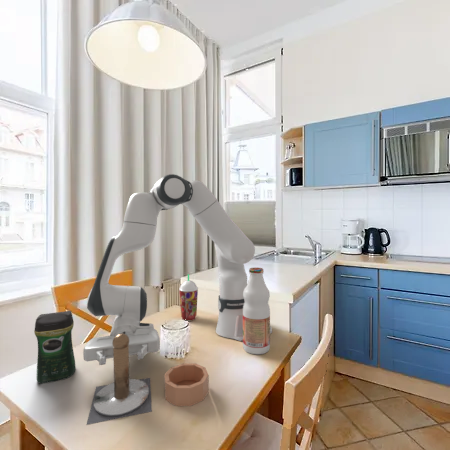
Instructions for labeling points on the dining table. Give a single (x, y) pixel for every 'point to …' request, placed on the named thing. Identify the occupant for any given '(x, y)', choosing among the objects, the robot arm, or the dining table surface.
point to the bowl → (186, 384)
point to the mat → (145, 408)
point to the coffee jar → (54, 346)
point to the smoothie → (188, 299)
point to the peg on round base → (121, 385)
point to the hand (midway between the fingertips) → (121, 359)
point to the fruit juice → (256, 314)
